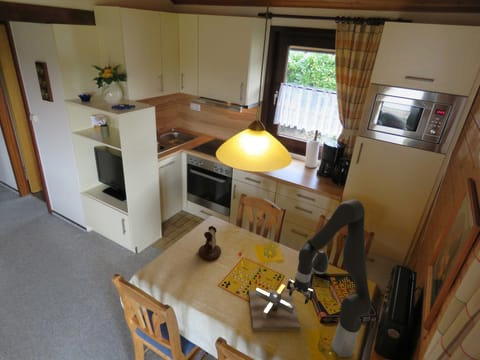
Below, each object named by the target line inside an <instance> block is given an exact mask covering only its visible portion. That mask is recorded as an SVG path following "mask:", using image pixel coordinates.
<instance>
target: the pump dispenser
mask: <svg viewBox="0 0 480 360" xmlns="http://www.w3.org/2000/svg"><path fill="white" fill-rule="evenodd" d="M312 263H313V267H312V271H313V272H314V273H316V274H317V275H323V274H324V275H325V274H326V273H327V271H328V269H329V264H330V263H329V256H328V254H327V252H325V250H321V251H319V250H318V252H317V253H316V254H315V256H314V258H313V261H312Z"/></svg>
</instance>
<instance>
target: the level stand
mask: <svg viewBox="0 0 480 360" xmlns="http://www.w3.org/2000/svg"><path fill="white" fill-rule="evenodd" d="M262 290H263V289H262ZM278 290H279V289H277V290H273V289H271V290H269V289H268V290H267V289H266V290H265V289H264V290H263V291H265V292H267V293H269V294H270V293H271V292H277V291H278ZM255 292H256V289H253V290H251V289H250V290H248V298H249V299H248V300H249V306H250V308H249V309H250V315H251V316H250V317H251V324H252V331H301V329H302V327H301V324H300V321H299V320H300V319H299V316H298V313H297V309H296V304H295V300H294V298H293V295H292V296H291V297H290V295H289V289H286V290H285V289H284V292H283V293H282V295H281V300H283V301H285V302H287V303H289V304H291V305H293V306H295V310H294V313H293V314H291V313H289V312H287V311H285V310H283V309H281V308H279V307H278V310H277V311H271V312H270V314H269V315H268V317H267V318H264V317H263V313H264V310H265V309H266V307H267V306H268V304H269V302H268V301H266V300H264V299H262V298H260V297H258V296H256V295H255Z"/></svg>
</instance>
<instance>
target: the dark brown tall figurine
mask: <svg viewBox="0 0 480 360" xmlns="http://www.w3.org/2000/svg"><path fill="white" fill-rule="evenodd" d="M217 232H218V231H217V228H216V227H215V226H214V225H209V226H208V231H205V232H204V233H203V236H204V238H205V244H202V245H201V246H200V247H199V249H198V254H199V255H198V256H199V257H201V258H202V259H204V260H208V261H215V260H216V259H218V258H219V257H220V256H221V255H222V249H221V247H220V246H219V245H217V237H216V233H217Z"/></svg>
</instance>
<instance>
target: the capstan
mask: <svg viewBox="0 0 480 360" xmlns="http://www.w3.org/2000/svg"><path fill="white" fill-rule="evenodd" d="M285 288H286V285H285V284H281V285H280V286H279V289H277V290H278V291H277V292H271V293H270V294H269V293H267V292H265V291H263V289H261V288H259V287H257V288H256V289H255V290H256V292H255V295H256V296H258V297H260V298H262V299H264V300H266V301H268V302H269V304H268V306H267V307H266V309H265V310H264V313H263V317H264V318H267V317H268V315H269V314H270V312H271V311H277V310H278V307H279V308H281V309H283V310H285V311H287V312H289V313H291V314H293V313H294V310H295V308H296V305H295V306H293V305H291V304H289V303H287V302H285V301H283V300H281V295H282V293H283V292H284V290H285Z"/></svg>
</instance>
